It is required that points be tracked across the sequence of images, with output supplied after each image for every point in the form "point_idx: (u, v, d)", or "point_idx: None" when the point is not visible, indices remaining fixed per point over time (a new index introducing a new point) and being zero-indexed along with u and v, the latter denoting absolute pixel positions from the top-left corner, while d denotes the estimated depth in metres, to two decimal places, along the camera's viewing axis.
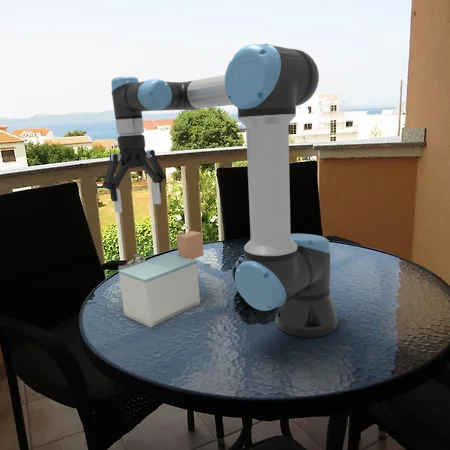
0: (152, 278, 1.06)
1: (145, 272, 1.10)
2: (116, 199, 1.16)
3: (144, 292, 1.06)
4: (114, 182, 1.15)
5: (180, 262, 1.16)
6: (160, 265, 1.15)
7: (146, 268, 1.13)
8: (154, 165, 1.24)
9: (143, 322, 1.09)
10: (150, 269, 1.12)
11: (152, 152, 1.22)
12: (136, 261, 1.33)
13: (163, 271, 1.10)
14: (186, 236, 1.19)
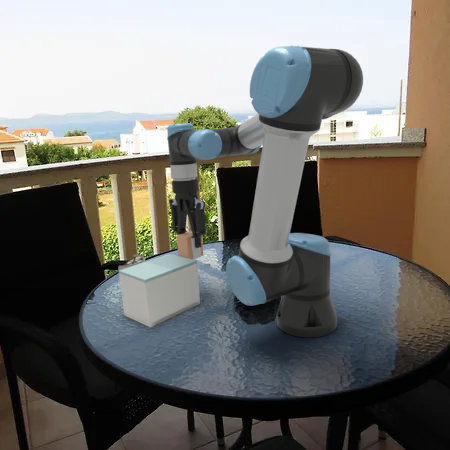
0: (152, 278, 1.06)
1: (145, 272, 1.10)
2: None
3: (144, 292, 1.06)
4: None
5: (180, 262, 1.16)
6: (160, 265, 1.15)
7: (146, 268, 1.13)
8: None
9: (143, 322, 1.09)
10: (150, 269, 1.12)
11: (197, 204, 1.15)
12: (136, 261, 1.33)
13: (163, 271, 1.10)
14: (186, 236, 1.19)
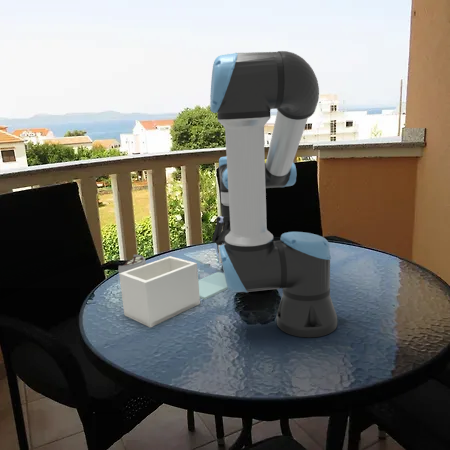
0: (210, 296, 1.24)
1: (202, 290, 1.28)
2: (219, 252, 1.44)
3: (144, 292, 1.06)
4: None
5: None
6: (213, 283, 1.33)
7: (202, 286, 1.31)
8: None
9: (143, 322, 1.09)
10: (206, 287, 1.30)
11: None
12: (136, 261, 1.33)
13: (218, 289, 1.28)
14: None
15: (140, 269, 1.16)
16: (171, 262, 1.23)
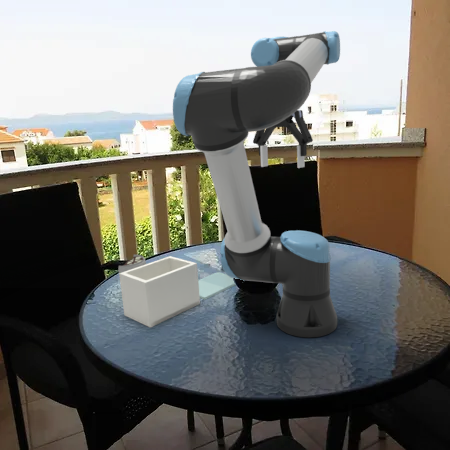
0: (210, 296, 1.24)
1: (202, 290, 1.28)
2: (261, 154, 1.30)
3: (144, 292, 1.06)
4: None
5: (230, 280, 1.34)
6: (213, 283, 1.33)
7: (202, 286, 1.31)
8: None
9: (143, 322, 1.09)
10: (206, 287, 1.30)
11: (295, 112, 1.18)
12: (136, 261, 1.33)
13: (218, 289, 1.28)
14: None
15: (140, 269, 1.16)
16: (171, 262, 1.23)
